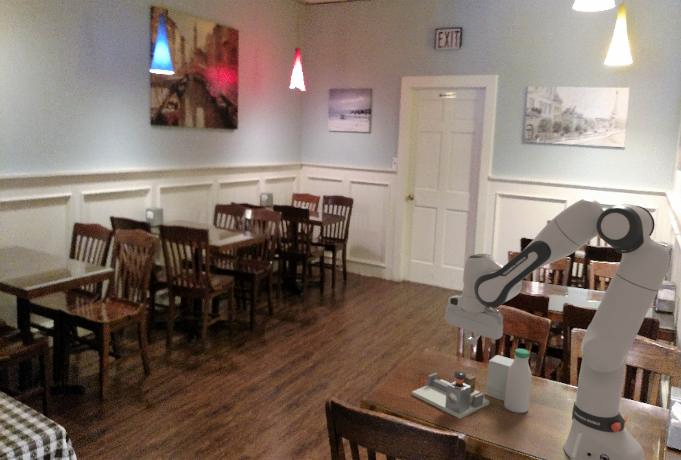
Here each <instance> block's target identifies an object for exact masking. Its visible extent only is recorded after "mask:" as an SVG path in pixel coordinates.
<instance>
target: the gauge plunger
mask: <svg viewBox="0 0 681 460" xmlns="http://www.w3.org/2000/svg"><path fill="white" fill-rule="evenodd" d="M466 374H467V373H465V372H464V371H459V370H458V371H455V372H454V373H453V375H454V378H455V381H456V384H455V387H457V388H459V389H461V388H463V381H464V379H465V378H466Z"/></svg>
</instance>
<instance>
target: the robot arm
mask: <svg viewBox="0 0 681 460" xmlns="http://www.w3.org/2000/svg"><path fill="white" fill-rule="evenodd" d="M655 225H656V224H655V219H654V216H653V215H652V213H651V212H650V211H649V210H648V209H646V208H645V207H642V206H640V205H634V204H630V203H626V204H625V203H624V204H623V203H622V204H615V205H612V206H609V207H608V208H605V207H604V205H602V204H601V203H600V202H598V201H597V200H595V199H593V198H589V197H588V198H582V199H580V200H578V201H575V202H574V203H573V204H571V205H569V206H568V207H566V208H564V210H563V211H561V212H559V213H558V214H557V215H556V216H554V218H552V219H551V220H550V221H548V223H547V224H546V225H545V226H544V227H543V228H542V229H541V230H540V231H539V232H538V233H537V235H536V236H535V237H534V239H532V240H531V242H529V243H528V245H527V246H526V247H525V248H524V249H523V250H522V251H521V252H519V253H518V254H517V255H516V256H515V257H512V258H511V259H510V261H508V262H506V264H505V265H503V264H502V263H500V262H499V261H497V260H496V259H494V257H493V256H492V255H491V254H488V253H477V254H473V255H470V256H468V257H467V258H466V260H465V265H464V270H463V278H462V281H463V289H462V291H461V294H457V295H451V296H450V297H448V298H447V302H448V303H447V305H446V308H445V314H444V315H445V316H444V317H445V323H447V324H448V325H451V326H455V327H456V328H459V329H463V333H464V336H465V338H466V340H465V341H466V344H469V345H472V346H476V345H477V344H478V340H479V338H480V337H481V336H482V337H486V338H488V339H491V340H494V341H495V340H499V339H501V338H502V337H503V334H504V323H503V321H504V315H503V314H502V313H501V311H500V310H498V309H496V308H499V307H501V306H502V305H503V304H504V303H507V302H508V301H510V300H512V299H513V298H514V297H516V296H518V295H519V294H520V293H521V292H522V290H523V286H524V284H523V280H525V278H527V277H529V275H530V274H532V273H533V272H535V271H536V270H538V269H540V268H543V267H544V266H546V265H549V264H551V263H555V262H557V261H560V260H562V259H565V258H567V257H569V256H570V255H572V254H574V253H576V252H577V251H578V250H580V249H581V248H582V247H583V246H585V245H586V244H588V243H589V242H590V241H591V240H593V239H594V238H596V237H600V238H601V239H602V240H603V241H604V242H605V243H607V245H609V246H611V248H612V249H613V250H615V251H616V252H617V253H618V254H621V259H620V261H619V264H618V266H617V267H616V270H615V272H614V274H613V277H612V278H611V280H610V281H609V284H608V287H607V288H606V291H605V293H604V294H603V297H602V299H601V301H600V303H599V305H598V307H597V309H596V311H595V313H594V316H593V318H592V320H591V322H590V323H589V325H588V326H587V329H586V331H585V333H584V336H583V339H582V341H581V346H580V350H581V355H582V359H581V364H580V370H579V375H578V381H577V389H576V390H577V391H576V395H575V396H576V399H575V401H574V402H573V407H572V413H571V414H572V415H571V420H572V421H571V426H570V430H569V433H568V436H567V439H566V440H565V442H564V444H563V449H564V450H563V451H564V452H565V453H566V454H567V456H568V457H569V458H570V460H645V455H644V449H643V447H642V445H641V444H640V443H639V442H638V441H637V440H636V439H635V438H634V437H633V435H631V433H630V432H629V431H628V430H627V429H626V428H625V425H626V423H627V420H628V417H627V416H625V417H623V416H622V415H621V413H620V405H621V399H622V398H621V397H622V391H623V385H624V384H623V383H624V378H625V373H626V371H625V370H626V363H627V357H628V354H629V352H630V350H631V348H632V346H633V344H634V342H635V340H636V338H637V335H638V333H639V331H640V329H641V326H642V325H643V322H644V320H645V317H646V315H647V313H648V312H649V310H650V308H651V305H652V304H653V302H654V300H655V298H656V296H657V294H658V293H659V291H660V288H661V286H662V284H663V282H664V279H665V277H666V274H667V271H668V268H669V264H670V261H671V254H670V252H669V250H668V249H667V248H666V247H665V246H664V245H663V244H661V243H659V242H657V241H654V240H653V239H652V238H651V236H652V235H653V232H654V230H655ZM471 333H473V336H474V337H472V334H471Z"/></svg>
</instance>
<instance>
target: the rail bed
mask: <svg viewBox="0 0 681 460" xmlns="http://www.w3.org/2000/svg"><path fill="white" fill-rule="evenodd" d="M438 376H439V375H438V372H434V373H431V374H428V376H427V384H426V385H425V386H422V387H420V388H417V389H414V390H413V391H411V392H412V393H411V395H412V396H414V397H416V398H418V399H419V400H422V401H424V402H425V403H428V404H429V405H432V406H433V407H436V408H438V409H439V410H442V411H444V412H445V413H448V414H449V415H451V416H454V417H456V418H457V419H460V420H461V419H463V418H465V417H466V416H469V415H471V414H472V413H474V412H476V411H478V410H480V409H482V408H484V407H487V406H488V405H489V404H490V400H489V399H487V398H485V397H484V393H482V392H480V394H478V395H475V396H474V398H473V403H472V405H469V409H468V410H466V411H464V412H462V413H460V414H458V413H456V412H454V411H452V410H450V409H448V408H446V407H445V405H446V393H447V385H448V384H450V383H451V382H449V381H447V380H445V379H442V378H441V379H438Z"/></svg>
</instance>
